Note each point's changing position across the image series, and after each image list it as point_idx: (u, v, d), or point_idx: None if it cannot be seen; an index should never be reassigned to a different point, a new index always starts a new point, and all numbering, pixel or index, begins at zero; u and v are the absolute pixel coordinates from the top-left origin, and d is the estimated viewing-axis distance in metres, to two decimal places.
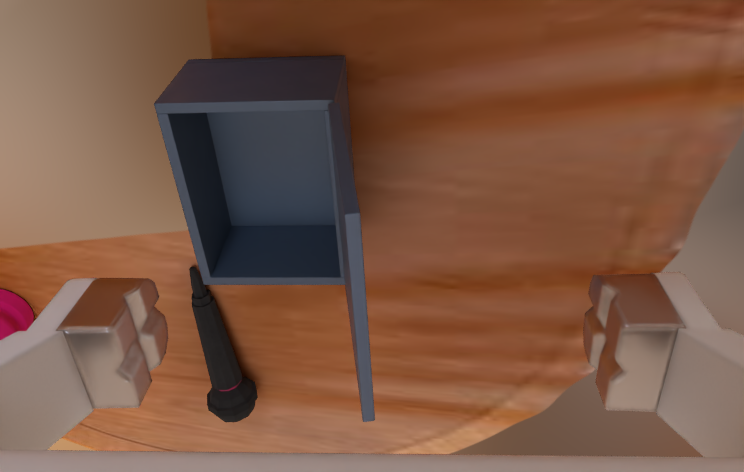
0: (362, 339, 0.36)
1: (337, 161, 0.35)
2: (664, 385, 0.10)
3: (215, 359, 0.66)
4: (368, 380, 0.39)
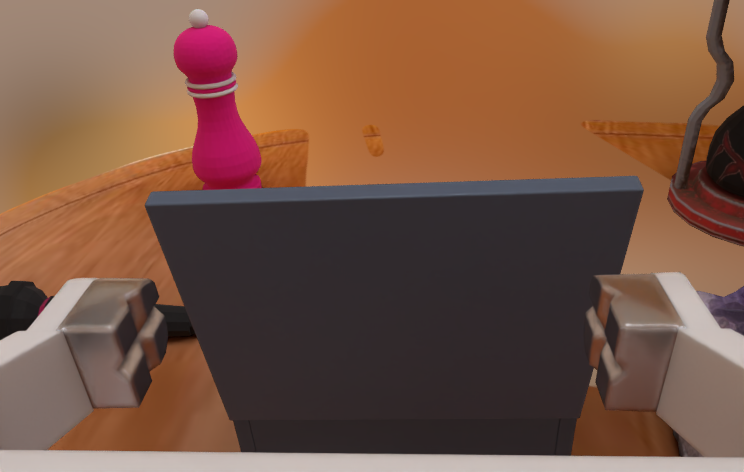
0: (369, 190, 0.21)
1: None
2: (664, 384, 0.10)
3: None
4: (260, 197, 0.21)
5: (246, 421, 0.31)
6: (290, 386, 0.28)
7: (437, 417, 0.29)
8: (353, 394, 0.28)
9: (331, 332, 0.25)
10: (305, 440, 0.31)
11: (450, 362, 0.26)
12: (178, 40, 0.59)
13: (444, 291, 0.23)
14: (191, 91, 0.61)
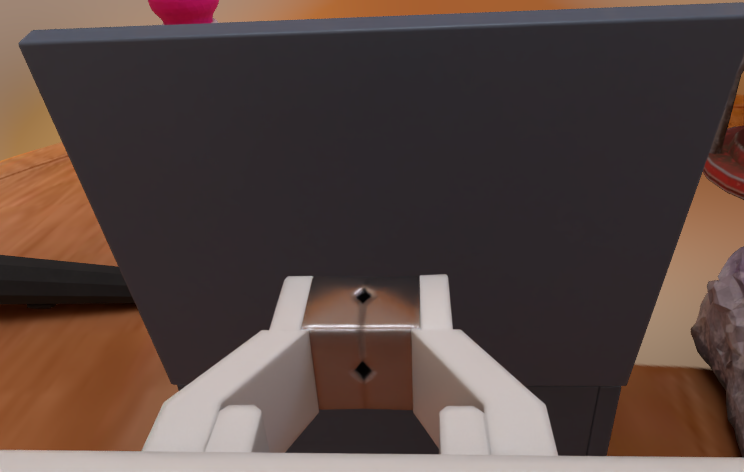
0: (346, 23, 0.14)
1: None
2: (413, 384, 0.10)
3: (51, 265, 0.41)
4: (187, 32, 0.14)
5: None
6: (247, 337, 0.21)
7: None
8: None
9: (298, 255, 0.19)
10: None
11: (459, 302, 0.20)
12: None
13: (453, 191, 0.17)
14: None
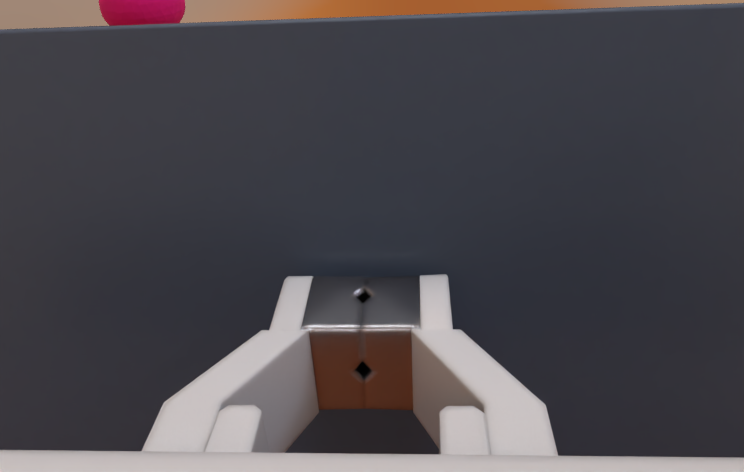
0: None
1: None
2: (413, 383, 0.10)
3: None
4: (117, 25, 0.11)
5: None
6: None
7: None
8: None
9: None
10: None
11: None
12: None
13: (470, 271, 0.12)
14: None
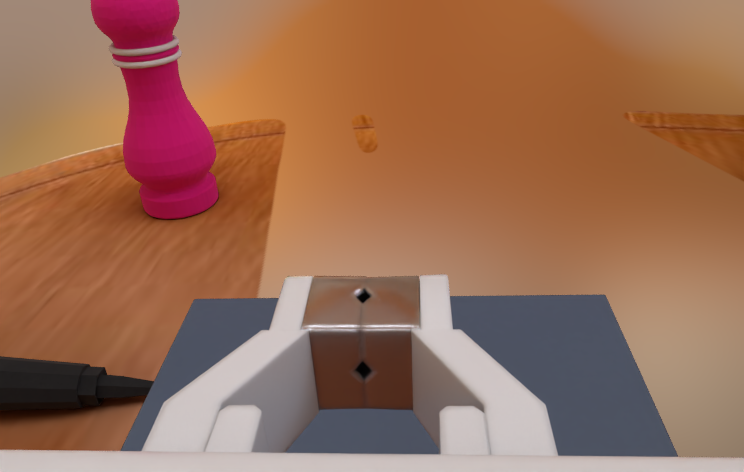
0: None
1: None
2: (413, 384, 0.10)
3: None
4: None
5: None
6: None
7: None
8: None
9: (307, 428, 0.19)
10: None
11: None
12: None
13: None
14: (116, 59, 0.45)
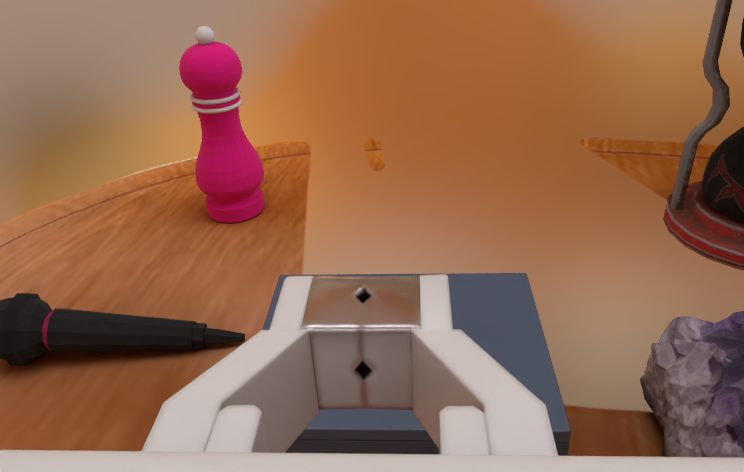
0: None
1: None
2: (413, 383, 0.10)
3: (107, 318, 0.48)
4: None
5: None
6: None
7: None
8: None
9: None
10: None
11: None
12: (184, 56, 0.60)
13: None
14: (196, 106, 0.62)
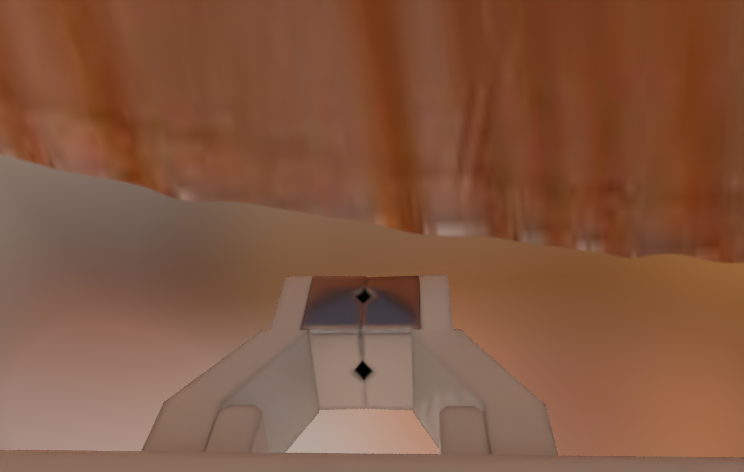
0: None
1: None
2: (413, 384, 0.10)
3: None
4: None
5: None
6: None
7: None
8: None
9: None
10: None
11: None
12: None
13: None
14: None
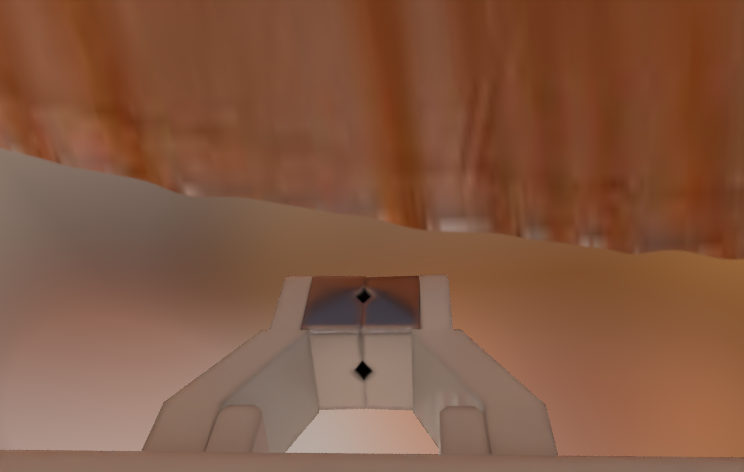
0: None
1: None
2: (413, 384, 0.10)
3: None
4: None
5: None
6: None
7: None
8: None
9: None
10: None
11: None
12: None
13: None
14: None
